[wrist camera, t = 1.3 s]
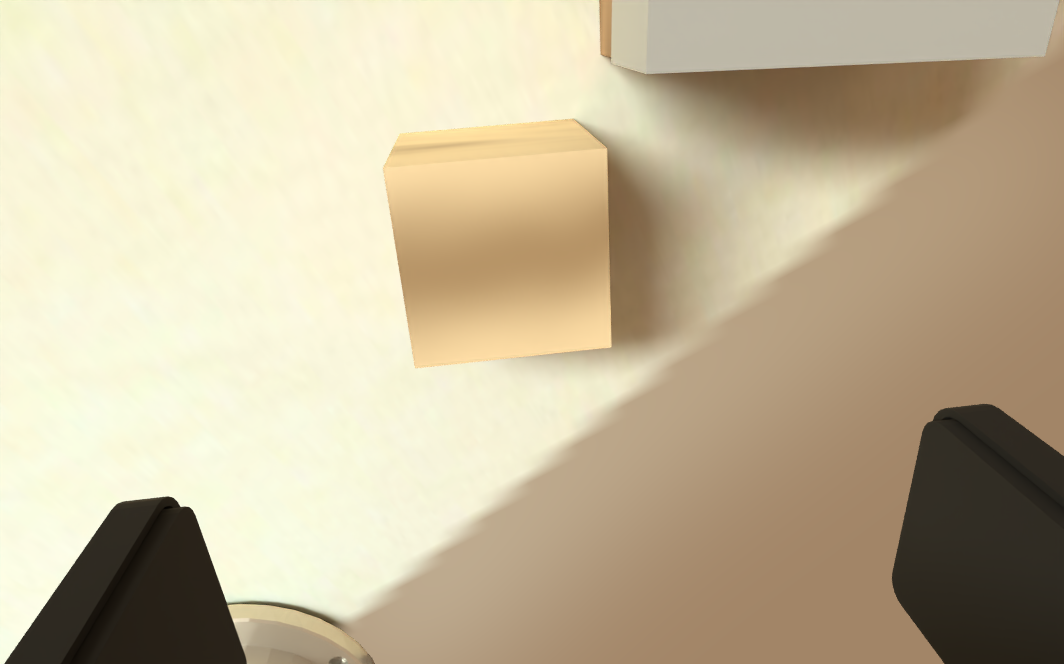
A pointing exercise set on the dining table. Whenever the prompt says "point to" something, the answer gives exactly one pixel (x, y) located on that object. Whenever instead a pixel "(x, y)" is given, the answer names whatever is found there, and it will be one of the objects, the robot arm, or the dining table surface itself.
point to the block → (501, 240)
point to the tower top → (822, 32)
